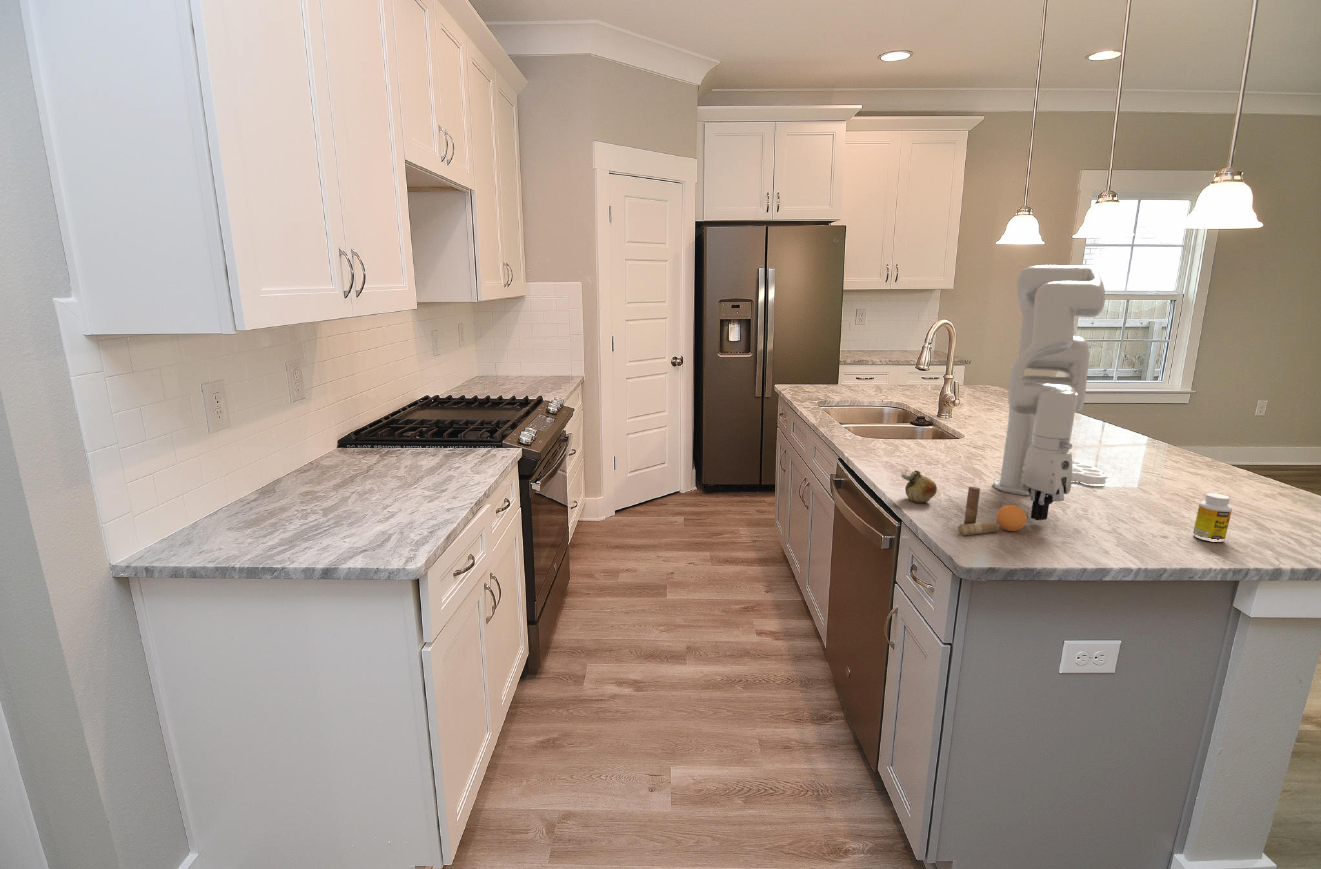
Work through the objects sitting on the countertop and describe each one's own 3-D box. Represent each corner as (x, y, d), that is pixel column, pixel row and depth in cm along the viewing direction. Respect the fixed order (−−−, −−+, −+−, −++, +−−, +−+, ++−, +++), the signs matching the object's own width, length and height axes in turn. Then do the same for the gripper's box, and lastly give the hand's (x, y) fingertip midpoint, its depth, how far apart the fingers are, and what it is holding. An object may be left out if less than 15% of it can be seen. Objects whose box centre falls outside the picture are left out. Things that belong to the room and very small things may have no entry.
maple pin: (996, 520, 147) (963, 523, 144) (999, 530, 146) (966, 534, 144) (989, 522, 149) (956, 526, 147) (992, 532, 148) (959, 536, 146)
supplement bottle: (1211, 544, 142) (1221, 500, 139) (1186, 535, 147) (1195, 492, 145) (1231, 542, 143) (1241, 498, 141) (1205, 533, 148) (1214, 491, 146)
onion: (916, 507, 163) (919, 477, 161) (896, 497, 171) (899, 468, 169) (941, 505, 165) (945, 475, 163) (921, 495, 172) (924, 466, 171)
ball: (987, 513, 149) (994, 527, 152) (1009, 525, 143) (1016, 540, 147) (1006, 495, 149) (1012, 510, 152) (1028, 507, 144) (1035, 522, 147)
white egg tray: (1036, 469, 201) (1087, 471, 199) (1062, 486, 184) (1118, 489, 182) (1038, 458, 200) (1089, 461, 198) (1064, 475, 183) (1120, 478, 181)
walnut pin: (970, 522, 153) (975, 486, 151) (977, 526, 151) (982, 489, 149) (961, 523, 152) (966, 487, 150) (968, 527, 150) (973, 490, 148)
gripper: (1092, 450, 142) (1078, 528, 146) (1037, 435, 156) (1026, 507, 160) (1064, 452, 140) (1051, 531, 144) (1011, 436, 154) (1001, 509, 158)
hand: (1038, 518), depth 152 cm, fingers closed
